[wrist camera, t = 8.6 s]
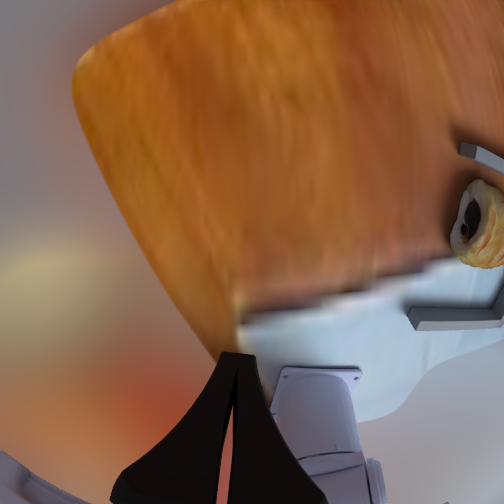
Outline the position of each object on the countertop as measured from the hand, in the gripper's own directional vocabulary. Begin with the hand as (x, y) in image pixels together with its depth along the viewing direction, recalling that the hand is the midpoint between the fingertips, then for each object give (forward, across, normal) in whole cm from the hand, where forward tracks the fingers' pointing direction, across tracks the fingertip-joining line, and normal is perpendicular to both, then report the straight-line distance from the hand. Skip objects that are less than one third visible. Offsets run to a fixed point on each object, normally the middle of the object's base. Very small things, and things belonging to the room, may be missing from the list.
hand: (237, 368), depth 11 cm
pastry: (+10, -19, -6) cm, 22 cm away
